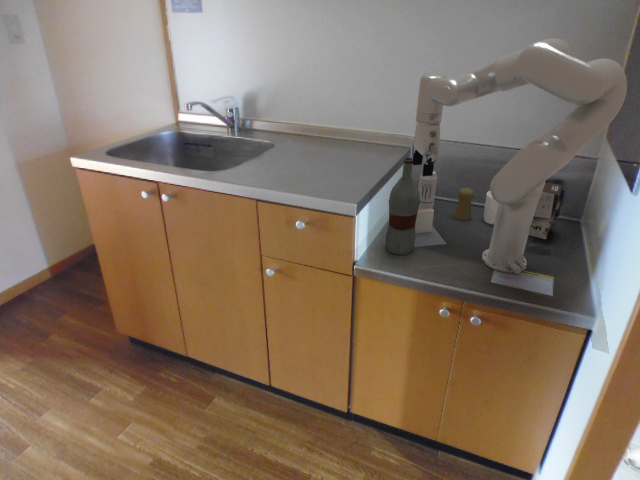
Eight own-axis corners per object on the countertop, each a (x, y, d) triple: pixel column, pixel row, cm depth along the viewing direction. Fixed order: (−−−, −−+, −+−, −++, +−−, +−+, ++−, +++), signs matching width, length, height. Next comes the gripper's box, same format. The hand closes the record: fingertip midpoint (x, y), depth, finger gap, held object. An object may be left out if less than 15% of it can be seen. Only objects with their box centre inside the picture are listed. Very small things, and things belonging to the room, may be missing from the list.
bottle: (391, 238, 146) (398, 151, 130) (418, 245, 142) (429, 156, 127) (380, 252, 139) (387, 161, 123) (408, 259, 135) (419, 166, 120)
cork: (471, 222, 155) (476, 193, 150) (453, 220, 156) (458, 192, 151) (469, 214, 160) (475, 186, 155) (452, 213, 161) (457, 185, 156)
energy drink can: (415, 212, 162) (419, 174, 154) (416, 205, 167) (421, 168, 159) (432, 214, 160) (437, 176, 153) (433, 207, 165) (438, 169, 158)
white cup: (477, 220, 156) (482, 194, 151) (488, 213, 161) (494, 188, 156) (497, 228, 151) (503, 201, 146) (509, 220, 156) (515, 195, 151)
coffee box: (546, 240, 144) (559, 194, 136) (525, 234, 147) (537, 190, 139) (550, 228, 151) (563, 184, 143) (530, 223, 154) (542, 180, 146)
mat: (446, 245, 142) (446, 243, 142) (413, 248, 141) (414, 246, 140) (430, 224, 154) (430, 223, 154) (399, 227, 152) (400, 226, 152)
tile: (431, 231, 148) (434, 210, 144) (411, 233, 148) (413, 212, 143) (429, 229, 150) (432, 208, 146) (409, 231, 149) (412, 210, 145)
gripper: (452, 124, 127) (443, 179, 136) (430, 108, 142) (423, 159, 151) (427, 125, 126) (420, 181, 135) (407, 109, 141) (402, 161, 150)
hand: (422, 169), depth 143 cm, fingers open, 9 cm apart
